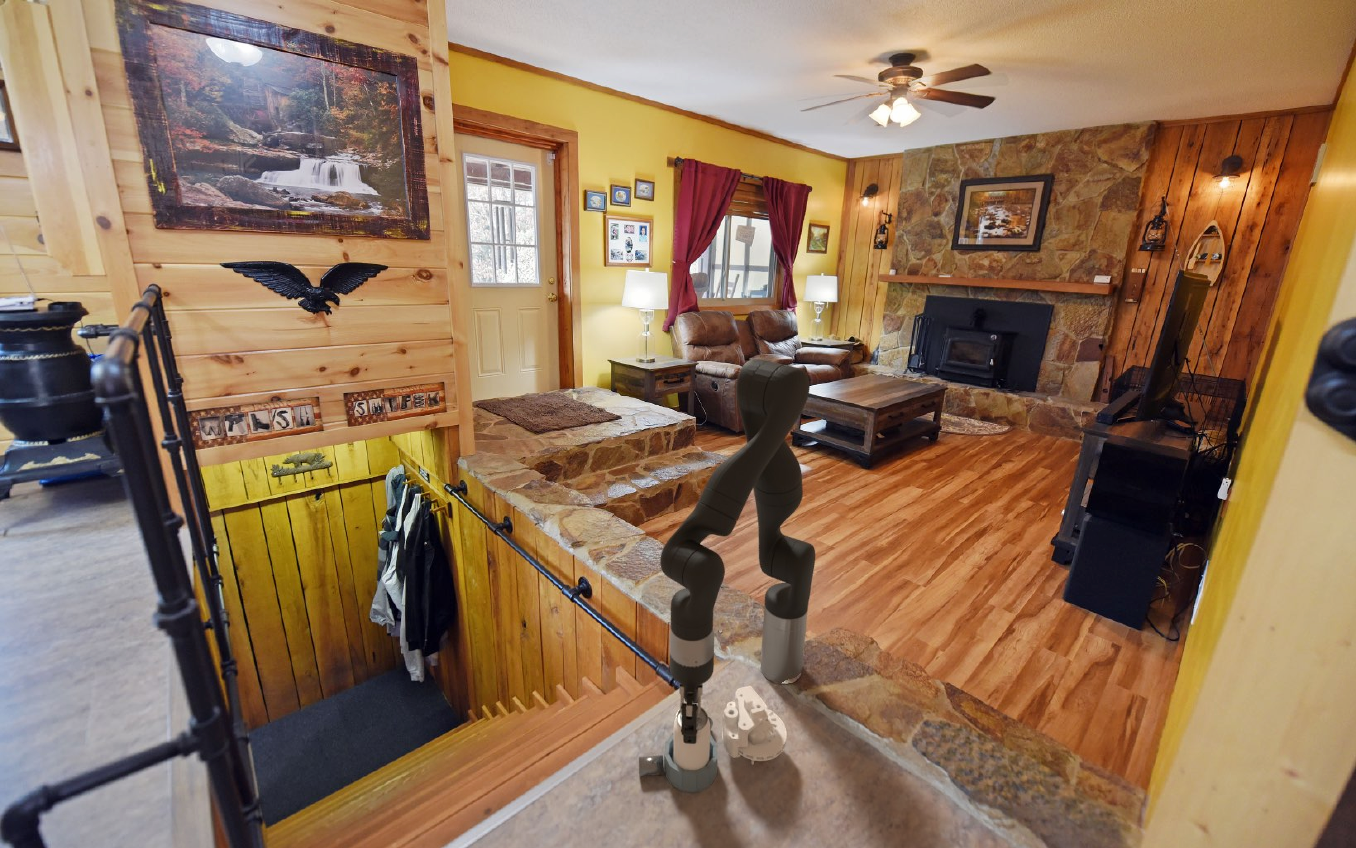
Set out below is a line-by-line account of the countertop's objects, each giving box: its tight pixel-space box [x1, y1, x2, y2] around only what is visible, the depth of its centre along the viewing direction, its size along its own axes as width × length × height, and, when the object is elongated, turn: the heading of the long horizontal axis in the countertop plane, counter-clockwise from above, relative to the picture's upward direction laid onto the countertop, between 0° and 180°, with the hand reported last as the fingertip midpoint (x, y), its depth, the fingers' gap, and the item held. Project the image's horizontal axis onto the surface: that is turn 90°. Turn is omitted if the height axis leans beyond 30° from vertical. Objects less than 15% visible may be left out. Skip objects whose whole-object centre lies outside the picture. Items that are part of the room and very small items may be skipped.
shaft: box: [638, 754, 665, 777], centre depth 101 cm, size 4×3×3 cm
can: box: [673, 706, 711, 771], centre depth 99 cm, size 6×6×12 cm
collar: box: [663, 731, 718, 794], centre depth 102 cm, size 10×10×4 cm
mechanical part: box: [721, 685, 788, 766], centre depth 104 cm, size 11×12×12 cm
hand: (691, 721), depth 99 cm, fingers open, 8 cm apart
